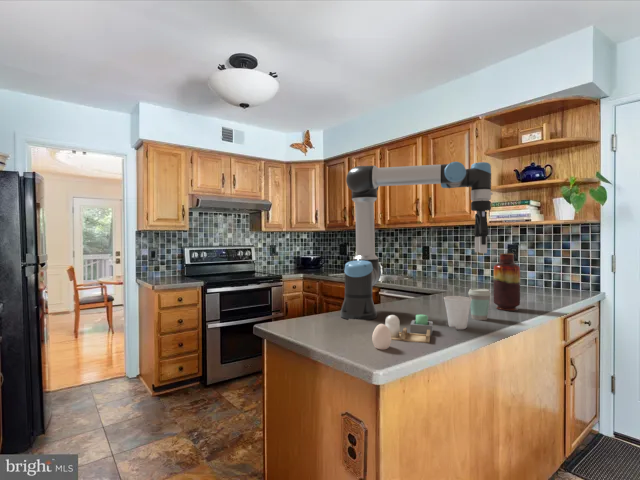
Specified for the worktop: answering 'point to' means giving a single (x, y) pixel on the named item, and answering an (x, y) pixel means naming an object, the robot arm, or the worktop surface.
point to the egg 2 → (393, 325)
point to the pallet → (413, 337)
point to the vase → (507, 283)
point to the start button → (422, 319)
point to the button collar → (421, 327)
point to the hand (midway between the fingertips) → (480, 252)
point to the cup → (457, 311)
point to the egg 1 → (381, 337)
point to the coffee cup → (479, 303)
